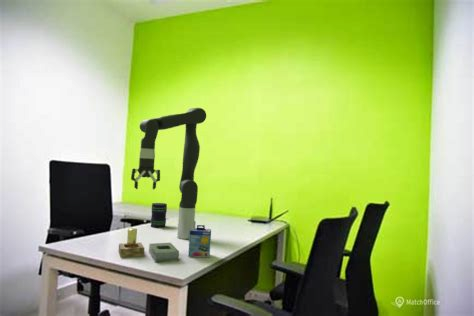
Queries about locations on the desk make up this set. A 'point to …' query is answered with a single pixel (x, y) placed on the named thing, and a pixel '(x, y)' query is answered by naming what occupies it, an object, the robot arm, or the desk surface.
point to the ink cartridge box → (199, 242)
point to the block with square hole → (163, 252)
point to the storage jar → (158, 215)
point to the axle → (131, 237)
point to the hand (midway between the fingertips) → (145, 189)
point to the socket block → (131, 250)
